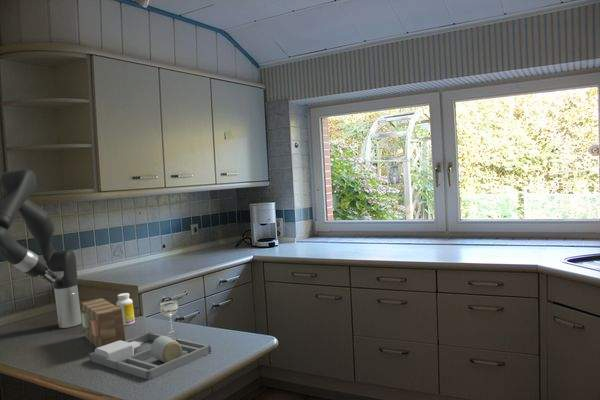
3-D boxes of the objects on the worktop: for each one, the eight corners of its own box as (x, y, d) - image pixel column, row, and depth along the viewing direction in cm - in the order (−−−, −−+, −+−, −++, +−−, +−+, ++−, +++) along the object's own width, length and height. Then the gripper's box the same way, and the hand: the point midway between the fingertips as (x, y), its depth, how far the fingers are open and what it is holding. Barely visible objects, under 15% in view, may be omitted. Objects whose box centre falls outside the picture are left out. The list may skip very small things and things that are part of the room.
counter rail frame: (89, 360, 172) (89, 353, 172) (150, 338, 190) (149, 332, 190) (148, 379, 150) (147, 371, 150) (211, 352, 168) (210, 345, 168)
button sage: (82, 325, 198) (81, 313, 198) (95, 322, 201) (94, 310, 201) (85, 328, 194) (84, 315, 194) (99, 324, 197) (97, 312, 197)
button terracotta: (92, 333, 185) (90, 320, 185) (106, 330, 188) (104, 317, 188) (95, 336, 181) (94, 323, 181) (110, 333, 184) (108, 319, 184)
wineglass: (162, 333, 197) (158, 302, 196) (179, 329, 199) (176, 299, 199) (164, 337, 191) (160, 306, 190) (182, 333, 193) (179, 302, 193)
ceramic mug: (164, 367, 159) (162, 343, 159) (151, 362, 165) (149, 339, 164) (193, 357, 166) (191, 334, 166) (180, 352, 172) (178, 330, 172)
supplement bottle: (137, 321, 218) (134, 291, 218) (131, 325, 212) (127, 295, 211) (123, 322, 219) (119, 292, 219) (116, 326, 213) (112, 296, 212)
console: (85, 336, 202) (81, 302, 201) (105, 331, 207) (101, 298, 206) (103, 353, 179) (98, 314, 178) (126, 346, 184) (121, 309, 183)
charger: (149, 351, 177) (109, 366, 166) (135, 347, 183) (95, 361, 172) (148, 337, 177) (107, 352, 166) (133, 334, 183) (94, 347, 172)
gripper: (43, 260, 182) (77, 283, 194) (29, 248, 191) (63, 270, 203) (28, 277, 180) (63, 299, 192) (14, 264, 188) (49, 285, 200)
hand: (63, 284), depth 197 cm, fingers closed
